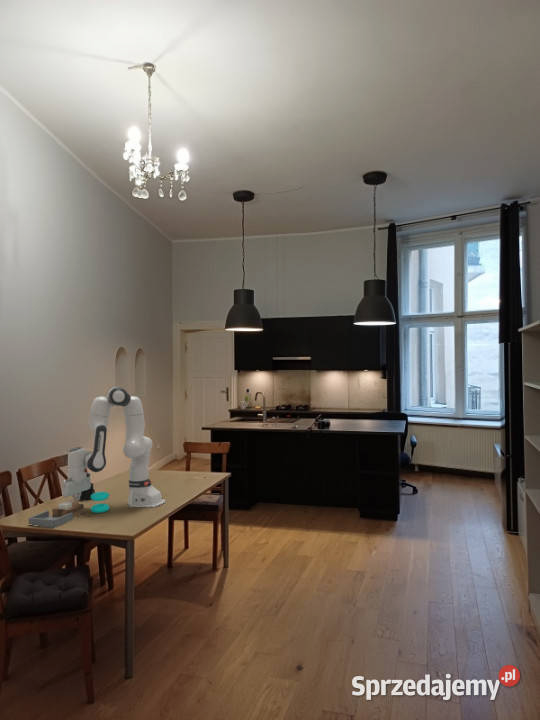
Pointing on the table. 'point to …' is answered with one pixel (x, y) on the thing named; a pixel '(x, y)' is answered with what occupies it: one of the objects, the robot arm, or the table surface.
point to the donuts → (101, 507)
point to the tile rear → (73, 502)
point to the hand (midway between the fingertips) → (76, 500)
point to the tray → (49, 520)
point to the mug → (87, 493)
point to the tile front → (65, 505)
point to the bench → (68, 511)
